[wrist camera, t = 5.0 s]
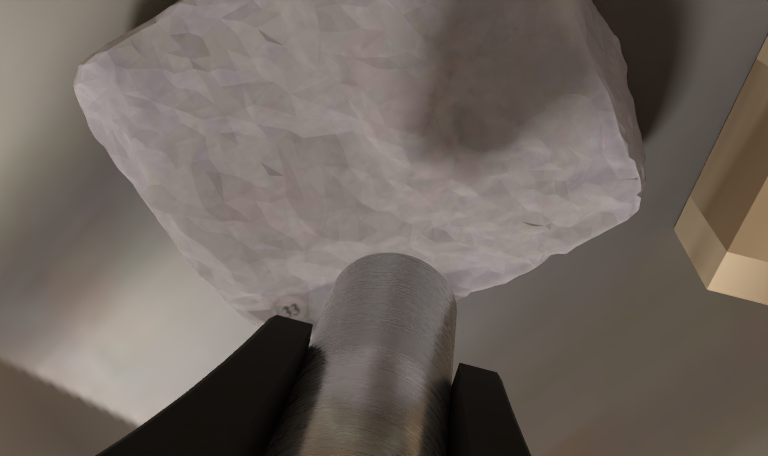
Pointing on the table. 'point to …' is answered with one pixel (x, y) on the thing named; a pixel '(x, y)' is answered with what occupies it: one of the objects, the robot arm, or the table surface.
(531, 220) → the stone block
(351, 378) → the cylinder
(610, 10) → the table surface
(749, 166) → the block
